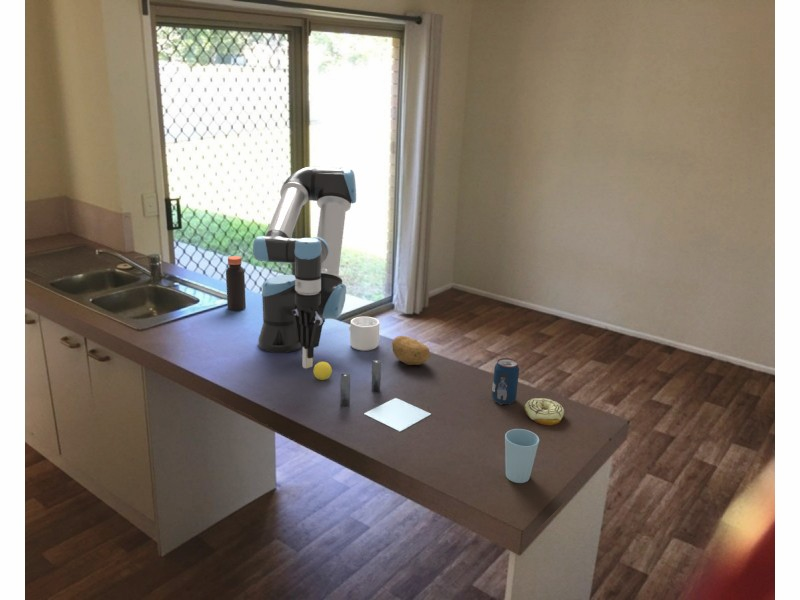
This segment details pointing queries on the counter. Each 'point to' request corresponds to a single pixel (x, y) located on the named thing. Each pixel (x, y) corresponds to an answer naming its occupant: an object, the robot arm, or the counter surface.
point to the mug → (364, 333)
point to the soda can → (505, 381)
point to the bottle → (235, 284)
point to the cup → (520, 454)
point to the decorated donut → (544, 411)
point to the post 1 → (345, 390)
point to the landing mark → (397, 414)
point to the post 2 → (376, 375)
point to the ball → (322, 370)
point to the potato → (410, 350)
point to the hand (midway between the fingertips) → (307, 366)
